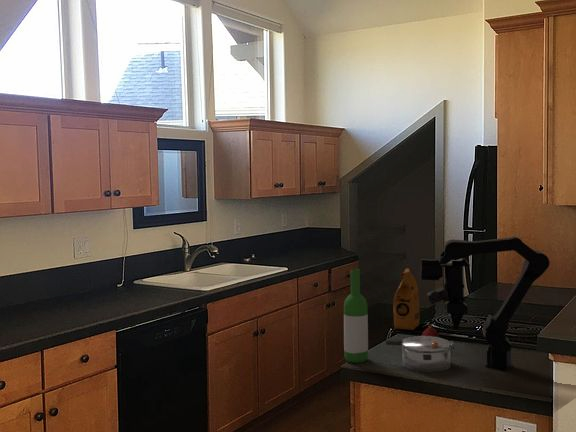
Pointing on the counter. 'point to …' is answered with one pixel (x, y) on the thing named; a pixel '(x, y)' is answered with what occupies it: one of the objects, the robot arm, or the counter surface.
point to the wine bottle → (355, 323)
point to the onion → (430, 332)
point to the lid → (423, 344)
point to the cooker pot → (426, 360)
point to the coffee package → (406, 303)
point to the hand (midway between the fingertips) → (455, 329)
